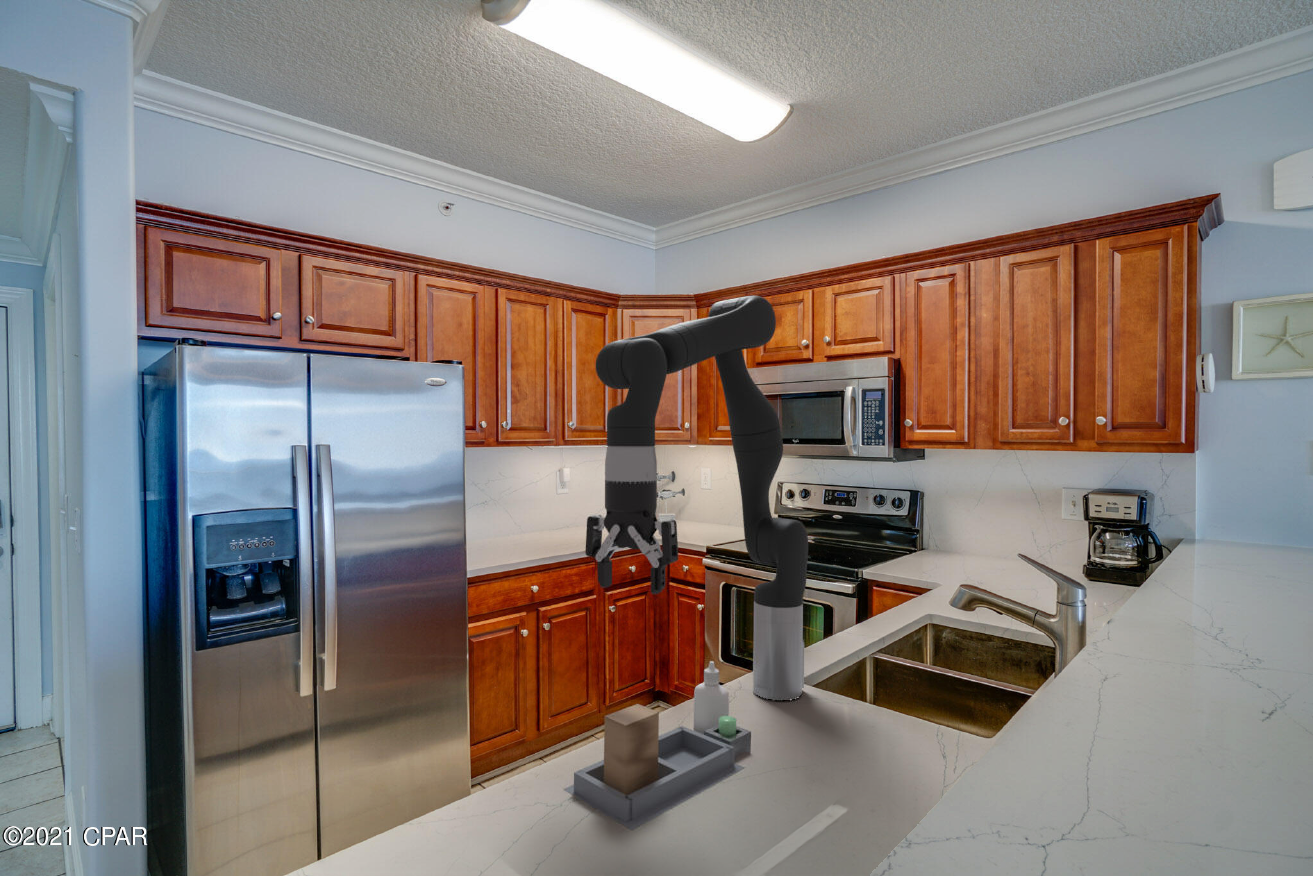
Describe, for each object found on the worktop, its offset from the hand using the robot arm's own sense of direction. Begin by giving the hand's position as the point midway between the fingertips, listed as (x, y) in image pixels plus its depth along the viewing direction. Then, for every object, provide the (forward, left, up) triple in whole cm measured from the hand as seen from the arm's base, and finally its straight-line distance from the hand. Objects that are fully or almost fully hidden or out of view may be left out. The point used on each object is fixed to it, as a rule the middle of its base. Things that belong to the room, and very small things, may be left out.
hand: (630, 589), depth 96 cm
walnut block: (+6, +7, -24) cm, 26 cm away
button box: (-13, +8, -26) cm, 30 cm away
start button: (-13, +8, -23) cm, 28 cm away
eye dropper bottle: (-17, +1, -26) cm, 31 cm away
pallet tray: (+1, +7, -26) cm, 27 cm away
